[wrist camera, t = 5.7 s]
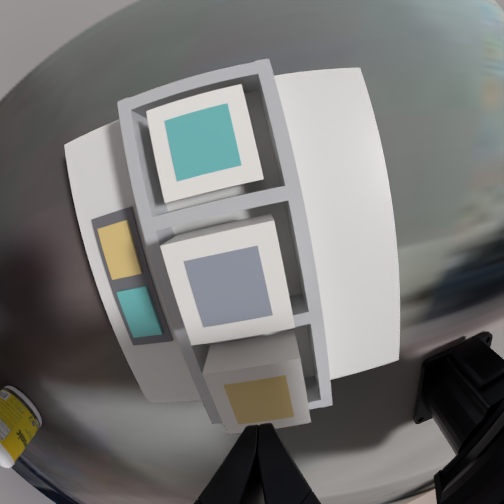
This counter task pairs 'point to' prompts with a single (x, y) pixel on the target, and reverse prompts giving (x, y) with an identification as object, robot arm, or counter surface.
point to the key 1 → (204, 144)
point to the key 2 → (257, 382)
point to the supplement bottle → (16, 424)
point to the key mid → (229, 280)
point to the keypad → (243, 207)
